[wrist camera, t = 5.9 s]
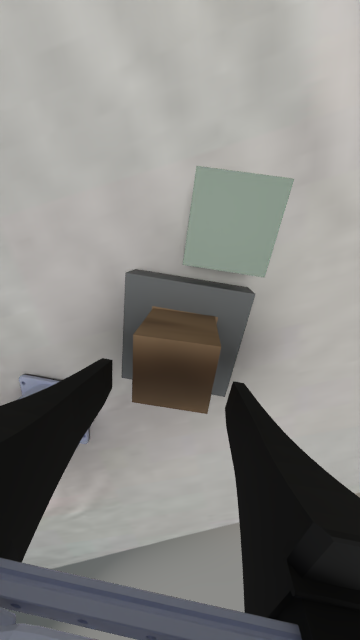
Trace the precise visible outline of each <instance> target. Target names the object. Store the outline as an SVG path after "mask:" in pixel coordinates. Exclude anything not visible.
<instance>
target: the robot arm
mask: <svg viewBox="0 0 360 640" xmlns="http://www.w3.org/2000/svg"><path fill="white" fill-rule="evenodd" d="M19 381H20V386H21V391H22V395H23V396H21V397H20V398H19V399H18V400H16V401H13V402H10V403H7V404H5V405H2V406H0V640H97V639H92V638H88V637H84V636H80V635H75V634H71V633H67V632H63V631H59V630H54V629H50V628H46V627H42V626H36V625H28V624H22V623H20V624H16V614H14V613H12V612H10V611H7V610H5V609H3V608H6V609H10V610H14V611H18V612H23V613H27V614H31V615H35V616H40V617H44V618H49V619H53V620H56V621H61V622H65V623H69V624H74V625H78V626H82V627H86V628H91V629H95V630H99V631H103V632H107V633H112V634H116V635H120V636H124V637H129V638H133V639H137V640H360V498H359V497H358V496H357V495H355V494H354V493H353V492H351V491H350V490H349V489H348V488H346V487H345V486H344V485H342V484H341V483H340V482H339V481H337V480H336V479H335V478H334V477H332V476H331V475H330V474H329V473H328V472H326V471H325V470H324V469H323V468H322V467H321V466H319V465H318V464H317V463H316V462H315V461H314V460H313V459H311V458H310V457H309V456H308V455H307V454H306V453H305V452H304V451H303V450H302V449H300V448H299V447H298V446H297V445H296V444H295V443H294V442H293V441H292V440H291V439H290V438H289V437H288V436H287V435H286V434H285V433H284V432H283V430H282V429H281V428H280V427H279V426H278V425H277V424H276V423H275V422H274V420H273V419H272V418H271V417H270V416H269V415H268V413H267V412H266V411H265V410H264V409H263V407H262V406H261V405H260V404H259V402H258V401H257V400H256V398H255V397H254V396H253V395H252V393H251V392H250V391H249V389H248V388H247V387H246V386H245V384H244V383H239V382H233V384H232V387H231V390H230V394H229V397H228V400H227V404H226V407H225V414H226V427H227V433H228V438H229V444H230V449H231V454H232V460H233V465H234V471H235V478H236V487H237V497H238V508H239V520H240V532H241V548H242V563H243V584H244V606H245V613H243V612H239V611H234V610H230V609H225V608H221V607H217V606H212V605H207V604H203V603H199V602H194V601H190V600H185V599H181V598H177V597H172V596H167V595H163V594H159V593H154V592H150V591H145V590H140V589H136V588H132V587H128V586H122V585H119V584H114V583H109V582H105V581H101V580H96V579H92V578H87V577H83V576H79V575H74V574H70V573H65V572H61V571H56V570H52V569H48V568H43V567H39V566H34V565H30V564H25V563H22V560H23V558H24V556H25V553H26V551H27V549H28V547H29V544H30V542H31V540H32V538H33V536H34V533H35V531H36V529H37V527H38V525H39V522H40V520H41V518H42V516H43V514H44V512H45V510H46V508H47V505H48V503H49V501H50V499H51V497H52V495H53V493H54V491H55V489H56V487H57V485H58V483H59V481H60V479H61V477H62V475H63V473H64V471H65V469H66V467H67V465H68V463H69V461H70V459H71V457H72V455H73V454H74V452H75V450H76V448H77V447H78V445H79V443H83V444H86V443H88V441H89V427H90V425H91V424H92V422H93V421H94V419H95V418H96V416H97V415H98V413H99V411H100V410H101V408H102V407H103V405H104V403H105V401H106V399H107V397H108V395H109V393H110V391H111V389H112V360H109V359H104V358H102V359H100V360H98V361H97V362H95V363H93V364H91V365H89V366H88V367H86V368H84V369H82V370H81V371H79V372H77V373H75V374H73V375H72V376H70V377H68V378H66V379H64V380H62V381H56V380H51V379H46V378H40V377H35V376H30V375H21V376H20V377H19Z"/></svg>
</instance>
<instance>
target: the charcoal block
mask: <svg viewBox="0 0 360 640" xmlns="http://www.w3.org/2000/svg"><path fill="white" fill-rule="evenodd" d="M254 297H255V293H254V292H252V291H251V290H250V289H249V288H248V287H242V286H236V285H229V284H223V283H217V282H211V281H205V280H199V279H193V278H187V277H180V276H174V275H168V274H162V273H156V272H150V271H144V270H137V269H135V270H132V271H129V272H126V275H125V301H124V327H123V354H122V378H127V379H133V334H134V333H135V332H136V330H137V329H138V328H139V326H140V325H141V324H142V322H143V321H144V320H145V318H146V317H147V316H148V314H149V313H150V312H151V310H152V309H153V308H156V309H163V310H171V311H179V312H186V313H194V314H202V315H209V316H215V320H216V325H217V329H218V334H219V339H220V343H221V350H220V355H219V360H218V365H217V369H216V374H215V379H214V384H213V389H212V393H211V394H212V395H218V396H223V397H225V394H226V391H227V388H228V384H229V381H230V378H231V374H232V371H233V367H234V364H235V361H236V357H237V354H238V351H239V347H240V344H241V341H242V337H243V334H244V331H245V327H246V324H247V321H248V317H249V314H250V310H251V307H252V304H253V300H254Z"/></svg>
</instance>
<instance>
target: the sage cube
mask: <svg viewBox="0 0 360 640" xmlns="http://www.w3.org/2000/svg"><path fill="white" fill-rule="evenodd" d="M293 181H294V179H292V178H285V177H277V176H270V175H262V174H254V173H247V172H239V171H232V170H224V169H216V168H209V167H201V166H196V173H195V181H194V188H193V195H192V202H191V209H190V216H189V223H188V231H187V238H186V245H185V252H184V259H183V265H187V266H193V267H200V268H206V269H213V270H219V271H226V272H232V273H238V274H245V275H251V276H258V277H265V274H266V271H267V268H268V264H269V261H270V258H271V254H272V251H273V248H274V244H275V241H276V238H277V234H278V231H279V228H280V224H281V221H282V218H283V214H284V211H285V208H286V204H287V201H288V198H289V194H290V191H291V188H292V184H293Z"/></svg>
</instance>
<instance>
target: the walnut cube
mask: <svg viewBox="0 0 360 640" xmlns="http://www.w3.org/2000/svg"><path fill="white" fill-rule="evenodd" d="M220 350H221V343H220V339H219V334H218V329H217V325H216V320H215V316H209V315H202V314H194V313H186V312H179V311H171V310H163V309H156V308H153V309H152V310H151V312H150V313H149V314H148V316H147V317H146V318H145V320H144V321H143V322H142V324H141V325H140V326H139V328H138V329H137V330H136V332H135V333H134V334H133V379H132V402H135V403H141V404H148V405H154V406H160V407H167V408H173V409H179V410H186V411H192V412H199V413H205V414H207V412H208V408H209V403H210V398H211V393H212V389H213V384H214V379H215V374H216V369H217V365H218V360H219V355H220Z"/></svg>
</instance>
